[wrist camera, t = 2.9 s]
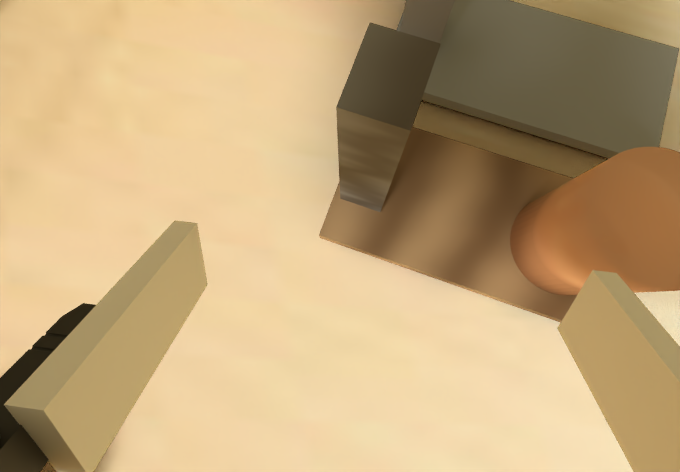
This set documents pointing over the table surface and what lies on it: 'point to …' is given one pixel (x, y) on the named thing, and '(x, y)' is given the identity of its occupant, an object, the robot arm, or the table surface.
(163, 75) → the table surface
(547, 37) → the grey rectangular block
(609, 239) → the peach capsule shape
